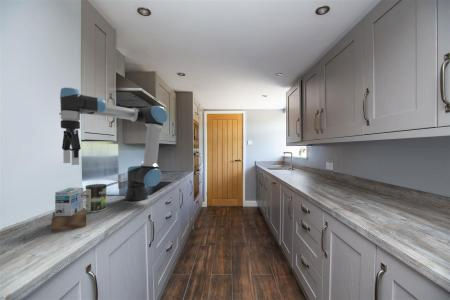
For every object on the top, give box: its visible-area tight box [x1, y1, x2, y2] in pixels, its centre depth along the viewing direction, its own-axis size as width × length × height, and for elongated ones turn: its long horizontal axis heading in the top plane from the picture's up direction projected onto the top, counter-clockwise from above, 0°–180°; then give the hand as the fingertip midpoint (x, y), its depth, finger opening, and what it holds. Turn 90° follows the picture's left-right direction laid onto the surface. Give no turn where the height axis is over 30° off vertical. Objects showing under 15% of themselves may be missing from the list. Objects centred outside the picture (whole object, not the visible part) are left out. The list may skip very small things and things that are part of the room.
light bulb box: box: [54, 187, 84, 216], centre depth 95 cm, size 11×7×11 cm, turn 9°
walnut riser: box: [51, 207, 87, 233], centre depth 94 cm, size 12×12×6 cm
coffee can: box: [85, 183, 107, 213], centre depth 118 cm, size 10×10×14 cm
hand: (71, 163), depth 100 cm, fingers open, 13 cm apart
